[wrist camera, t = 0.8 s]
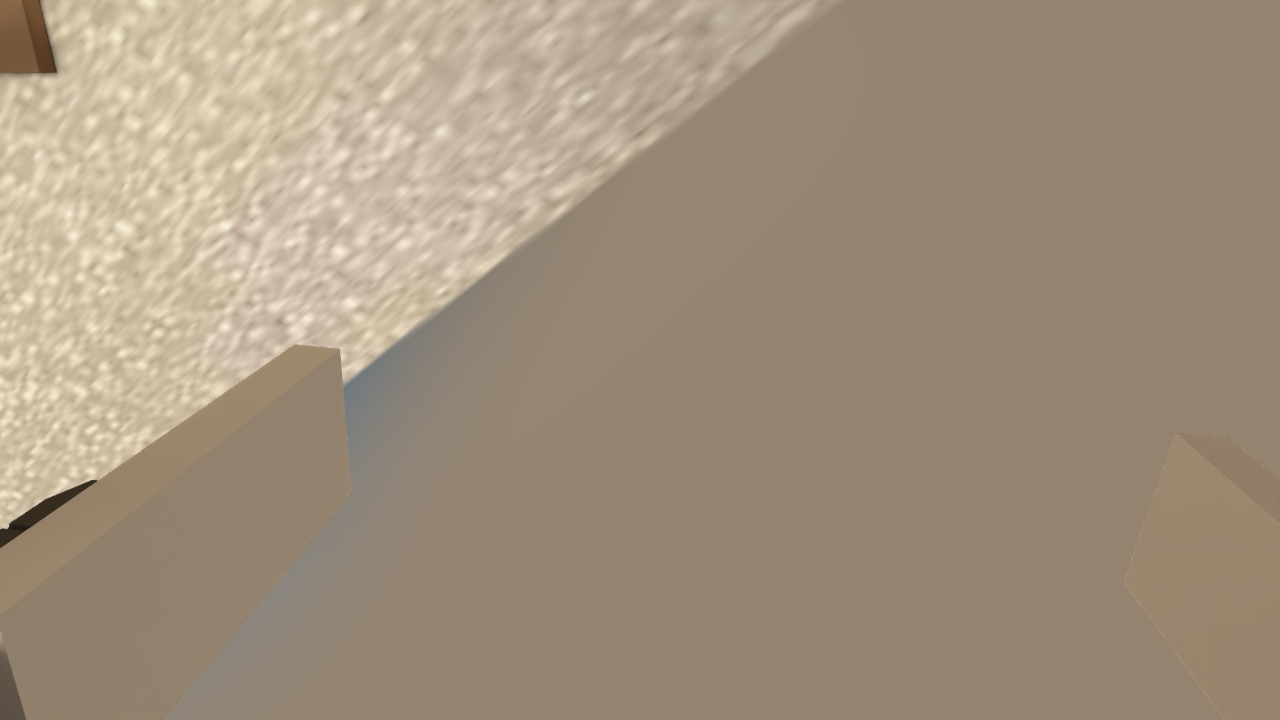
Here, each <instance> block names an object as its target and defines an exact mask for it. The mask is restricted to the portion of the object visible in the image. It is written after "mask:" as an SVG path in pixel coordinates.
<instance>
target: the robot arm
mask: <svg viewBox="0 0 1280 720" xmlns="http://www.w3.org/2000/svg"><path fill="white" fill-rule="evenodd" d="M344 408H345V407H344V396H343V382H342V370H341V358H340V349H335V348H325V347H315V346H305V345H293V346H292V347H290V348H289V349H288V350H286V351H285V352H283V353H282V354H280V355H279V356H277V357H276V358H275V359H273V360H272V361H270V362H269V363H267V364H266V365H264V366H263V367H262V368H260V369H259V370H257V371H256V372H254V373H253V374H251V375H250V376H249V377H247V378H246V379H244V380H243V381H241V382H240V383H238V384H237V385H236V386H234V387H233V388H231V389H230V390H228V391H227V392H225V393H224V394H223V395H221V396H220V397H218V398H217V399H215V400H214V401H212V402H211V403H210V404H208V405H207V406H205V407H204V408H202V409H201V410H199V411H198V412H197V413H195V414H194V415H192V416H191V417H189V418H188V419H186V420H185V421H184V422H182V423H181V424H179V425H178V426H176V427H175V428H173V429H172V430H171V431H169V432H168V433H166V434H165V435H163V436H162V437H160V438H159V439H158V440H156V441H155V442H153V443H152V444H150V445H149V446H147V447H146V448H145V449H143V450H142V451H140V452H139V453H137V454H136V455H134V456H133V457H132V458H130V459H129V460H127V461H126V462H124V463H123V464H121V465H120V466H119V467H117V468H116V469H114V470H113V471H111V472H110V473H108V474H107V475H106V476H104V477H103V478H101V479H100V480H98V481H97V480H91V481H89V482H86V483H84V484H81V485H79V486H76V487H74V488H72V489H69V490H67V491H64V492H62V493H60V494H57V495H55V496H52V497H50V498H47V499H45V500H44V501H42V502H41V503H39V504H38V505H36V506H35V507H33V508H32V509H30V510H29V511H27V512H26V513H24V514H23V515H21V516H20V517H18V518H17V519H15V520H14V521H12V522H11V523H9V528H8V529H0V720H163V719H164V718H165V717H166V716H167V714H168V713H169V712H170V711H171V710H172V708H173V707H174V706H175V705H176V704H177V702H178V701H179V700H180V699H181V698H182V696H183V695H184V694H185V693H186V692H187V690H188V689H189V688H190V687H191V686H192V684H193V683H194V682H195V681H196V680H197V679H198V677H199V676H200V675H201V674H202V673H203V671H204V670H205V669H206V668H207V667H208V665H209V664H210V663H211V662H212V661H213V659H214V658H215V657H216V655H218V653H219V652H220V651H221V650H222V649H223V647H224V646H225V645H226V644H227V643H228V641H229V640H230V639H231V638H232V637H233V636H234V634H235V633H236V632H237V631H238V630H239V628H240V627H241V626H242V625H243V624H244V622H245V621H246V620H247V619H248V618H249V616H250V615H251V614H252V613H253V612H254V610H255V609H256V608H257V607H258V606H259V605H260V603H261V602H262V601H263V600H264V599H265V597H266V596H267V595H268V594H269V593H270V591H271V590H272V589H273V588H274V587H275V585H276V584H277V583H278V582H279V581H280V579H281V578H282V577H283V576H284V575H285V574H286V572H287V571H288V570H289V568H290V567H291V566H292V565H293V564H294V563H295V562H296V560H297V559H298V558H299V557H300V556H301V554H302V553H303V552H304V551H305V550H306V548H307V547H308V546H309V544H311V542H312V541H313V540H314V539H315V538H316V536H317V535H318V534H319V533H320V532H321V531H322V529H323V528H324V527H325V526H326V524H327V523H328V522H329V521H330V520H331V519H332V517H333V516H334V515H335V514H336V513H337V511H338V510H339V509H340V508H341V506H342V505H343V504H344V503H345V502H346V501H347V500H348V498H349V497H350V496H351V495H352V493H351V481H350V469H349V456H348V445H347V432H346V419H345V409H344ZM1123 583H1124V584H1125V585H1126V587H1127V588H1128V589H1129V591H1130V592H1131V593H1132V595H1133V596H1134V598H1135V599H1136V600H1137V602H1138V603H1139V604H1140V606H1141V607H1142V609H1143V610H1144V611H1145V613H1146V614H1147V615H1148V617H1149V618H1150V620H1151V621H1152V622H1153V624H1154V625H1155V626H1156V628H1157V629H1158V631H1159V632H1160V633H1161V635H1162V636H1163V637H1164V639H1165V640H1166V641H1167V643H1168V644H1169V646H1170V647H1171V648H1172V650H1173V651H1174V652H1175V654H1176V655H1177V657H1178V658H1179V659H1180V661H1181V662H1182V663H1183V665H1184V666H1185V667H1186V669H1187V670H1188V672H1189V673H1190V674H1191V676H1192V677H1193V678H1194V680H1195V681H1196V683H1197V684H1198V685H1199V687H1200V688H1201V689H1202V691H1203V692H1204V694H1205V695H1206V696H1207V698H1208V699H1209V700H1210V702H1211V703H1212V705H1213V706H1214V707H1215V709H1216V710H1217V711H1218V713H1219V714H1220V715H1221V717H1222V718H1223V720H1280V478H1278V477H1277V476H1276V475H1275V474H1273V473H1272V472H1271V471H1270V470H1268V469H1267V468H1266V467H1264V466H1263V465H1262V464H1261V463H1259V462H1258V461H1257V460H1256V459H1254V458H1253V457H1252V456H1251V455H1249V454H1248V453H1247V452H1245V451H1244V450H1243V449H1242V448H1240V447H1239V446H1238V445H1237V444H1235V443H1234V442H1233V441H1232V440H1230V439H1229V438H1224V437H1214V436H1204V435H1194V434H1184V433H1175V436H1174V439H1173V441H1172V444H1171V447H1170V450H1169V453H1168V456H1167V459H1166V461H1165V464H1164V467H1163V470H1162V473H1161V476H1160V479H1159V481H1158V484H1157V487H1156V490H1155V493H1154V496H1153V499H1152V502H1151V504H1150V507H1149V510H1148V513H1147V516H1146V519H1145V522H1144V524H1143V527H1142V530H1141V533H1140V536H1139V539H1138V542H1137V545H1136V547H1135V550H1134V553H1133V556H1132V559H1131V561H1130V564H1129V567H1128V570H1127V573H1126V576H1125V579H1124V581H1123Z"/></svg>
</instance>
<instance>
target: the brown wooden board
mask: <svg viewBox="0 0 1280 720" xmlns="http://www.w3.org/2000/svg"><path fill="white" fill-rule="evenodd" d="M52 72H56V70H55V66H54V62H53V58H52V53H51V49H50V45H49V41H48V37H47V33H46V29H45V25H44V20H43V16H42V12H41V8H40V4H39V0H0V73H52Z"/></svg>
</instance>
